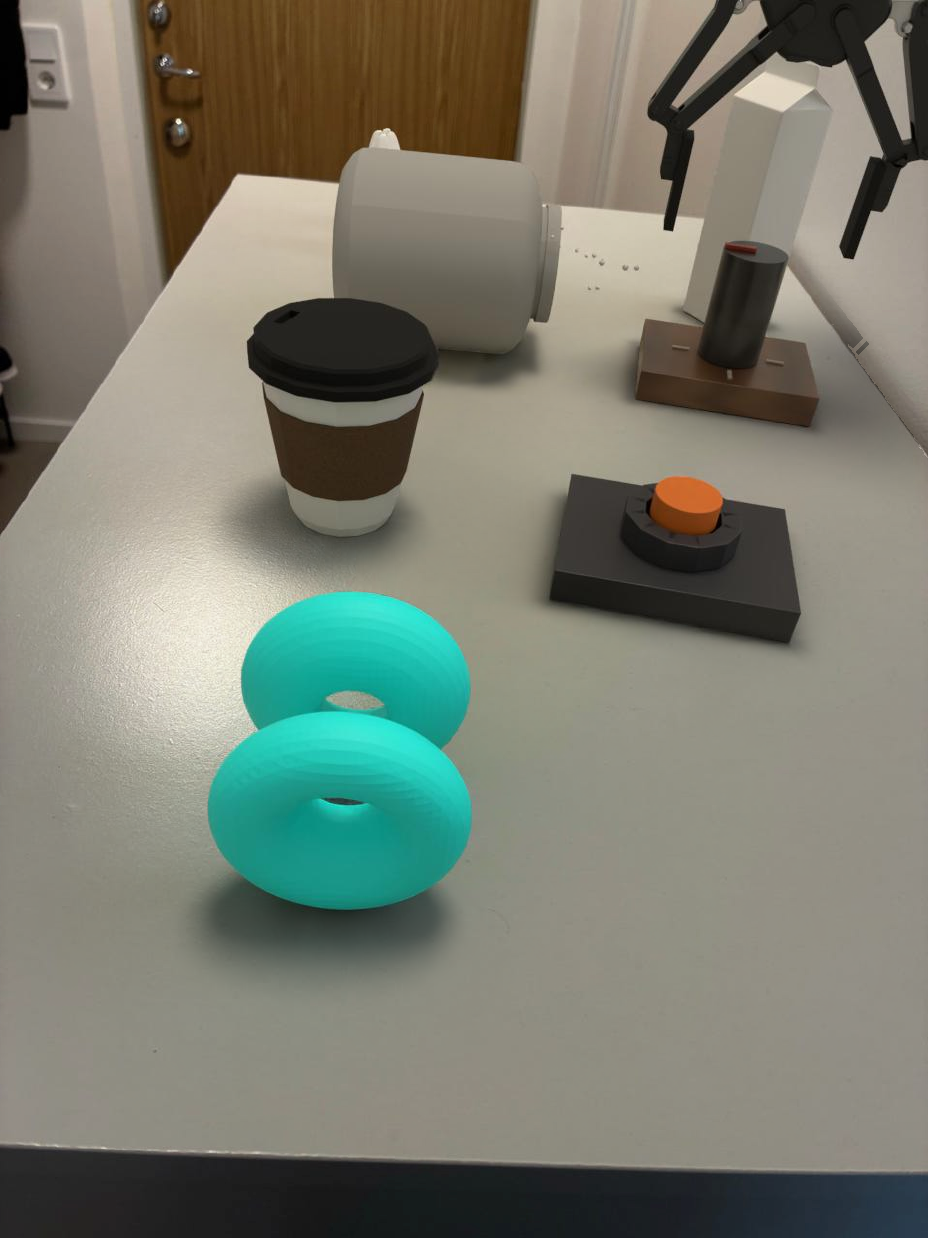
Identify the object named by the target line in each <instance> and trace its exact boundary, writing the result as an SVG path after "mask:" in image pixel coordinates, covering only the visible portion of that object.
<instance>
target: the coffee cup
mask: <svg viewBox="0 0 928 1238" xmlns="http://www.w3.org/2000/svg"><path fill="white" fill-rule="evenodd" d="M252 329H253V333H252V334H251V335H250V337H249V338H248V339H247V340H246V352H247V362H248V363H247V365H248V368H249V370H251V371H252V372H253V373H254V374H255V375H256V376H257V377H258V378H259V379H260V380H261V381H262V382H261V385H262V386H261V387H262V396H263V401H264V406H265V410H266V414H267V415H266V416H267V419H268V422H269V423H268V424H269V427H270V432H271V437H272V442H273V446H274V450H275V454H276V458H277V464H278V468H279V472H280V476H281V477H282V478H283V479H284V481H285V482H284V483H285V486H286V490H287V494H288V499H289V503H290V508H291V510H292V511H293V512H294V514H295V516H296V517H297V519H299V520H300V522H301V523H302V524H303V525H304V526H305V527H306V528H308V529H310V530H313V531H314V532H316V533H319V534H321V535H326V536H327V535H328V536H332V537H338V538H343V537H346V538H347V537H359V536H362V535H365V534H369V533H372V532H375V531H376V530H377V529H379V528H380V527H382V526H383V525H384V524H386V523H387V522H388V520H389V518H390V517H391V515H392V514H393V512H394V509H395V507H396V505H397V501H398V497H399V493H400V488H401V484H402V482H403V480H404V477H405V475H406V473H407V471H408V467H409V462H410V459H411V453H412V449H413V446H414V445H413V444H414V441H415V436H416V433H417V427H418V425H419V418H420V415H421V410H422V406H423V401H424V397H425V392H424V390H423V389H424V386H425V385H426V384H428V383H429V382H431V381H432V380H433V378H434V376H435V374H436V371H437V369H438V368H439V366H440V353H439V351H438V348H436V346H435V344H434V342H433V340H432V338H431V335H430V333H429V331H428V328H427V326H426V325H425V324H423V323H422V322H421V321H419V320H418V319H416V318H415V317H413V316H412V315H411V314H409V313H408V312H406V311H403V310H400V309H397V308H394V307H392V306H389V305H386V304H383V303H379V302H372V301H366V300H359V299H353V298H334V297H317V298H311V299H304V300H299V301H298V300H297V301H294V302H288V303H286V304H284V305H281V306H278V307H277V308H274V309H272V310H270V311H267V312H266V313H265V314H264V315H263V316H262V317H261V318H260V320H259V321H258V322H257V323H256V324H255V325H254V326H253V328H252Z"/></svg>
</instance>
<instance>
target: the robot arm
mask: <svg viewBox="0 0 928 1238" xmlns="http://www.w3.org/2000/svg"><path fill="white" fill-rule="evenodd" d="M755 1H759V5H760V8H761V11H762V14H763V17H764V20H765V24H766V25H765V26H764V27H763V28H762V29H761V30H760V31H758V32H757V34H755V35H754V37H752V38H751V39H750V40H749V41H748V42H747V44H746V45H745V46H744V47H743V48H742V49H741V50H740V51H738V52H737V53H736V54H735V55H734V56H733V57H732V58H731V59H730V60H729V61H727V62H726V63H725V64H724V65H723V66H722V67H721V68H720V69H718V71H716V72H715V73H714V74H713V75H712V76H711V77H709V79H707V80H706V81H705V82H704V83H703V84H702V85H701V86H700V87H699V88H698V89H697V90H696V91H694V92H693V93H692V94H691V95H690V96H689V97H688V98H686V100H685V101H683V102H682V103H681V104H680V105H679V106H678V107H677V106H675V105H673V103H674V101H675V100H676V99H677V97H678V96H679V94H680V93H681V92H682V90H683V88H684V87H685V86H686V85H687V83H688V81H690V79H691V77H692V76H693V74H694V73H695V72H696V70H697V69H698V67H699V66H700V64H701V63H702V62H703V60H704V59H705V58H706V56H707V55H708V54H709V52H710V50H711V49H712V47H713V46H714V45H715V43H716V42H717V41H718V39H719V38H720V36H721V35H722V33H723V32H724V31H725V29H726V28H727V26H728V24H729V23H730V21H731V19H732V17H733V15H741V14H743V13H744V12H746V10H747V8H748V6H749V5H750V4H751V3H753V2H755ZM888 19H890V20H893V23H894V24H893V25H894V32H895V33H896V34H897V35H898V37H901V38H902V56H903V68H904V78H905V88H906V89H905V90H906V100H907V109H908V120H909V130H910V131H909V132H910V138H906V139H902V136H901V135H900V132H899V129H898V127H897V124H896V121H895V118H894V117H893V113H892V111H891V107H890V106H889V103H888V100H887V98H886V96H885V92H884V90H883V88H882V85H881V82H880V80H879V78H878V74H877V73H876V70H875V69H876V68H875V66H874V63H873V60H872V57H871V55H870V52H869V50H868V47H867V44H866V41H868V39H870V38H871V37H872V36H873V35H874V34H875V33H876V32H877V31H878V30H879V29H880V28H881V27H882V26H884V24H885V23H886V22H887V20H888ZM774 53H778V54H779V55H780V56H781V57H782V58H784V59H785V60H786V61H788V62H795V63H799V62H810V63H812V64H815V65H819V66H820V67H824V68H825V67H826V68H833V67H834V66H837V65H840V64H842V63H843V62H846V64H847V68H848V69H849V72H850V74H851V76H852V78H853V81H854V83H855V86H856V89H857V91H858V94H859V97H860V99H861V101H862V104H863V106H864V109H865V111H866V114H867V116H868V118H869V119H868V120H869V122H870V124H871V126H872V129H873V131H874V134H875V136H876V139H877V141H878V144H879V146H880V148H881V149H880V150H881V152H882V157H879V156H871V155H870V156H869V158H868V161H867V163H866V167H865V170H864V172H863V176H862V178H861V181H860V184H859V187H858V190H857V192H856V196H855V199H854V201H853V204H852V207H851V210H850V213H849V217H848V219H847V221H846V225H845V228H844V231H843V234H842V237H841V240H840V243H839V246H838V249H839V250H840V253H841V255H842V258H843V259H846V260H853V261H854V260H855V257H856V254H857V251H858V249H859V246H860V243H861V241H862V238H863V235H864V232H865V229H866V226H867V224H868V220H869V218H870V216H871V213H872V212H877V213H883V212H884V211H885V209H886V208H887V207H888V205H889V203H890V200H891V197H892V194H893V192H894V189H895V186H896V185H897V184H896V183H897V180H898V178H899V176H900V173H901V171H902V169H904V168H905V167H906V166H907V165H908V164H909V163H912V162H917V161H924V162H925V161H928V0H715V2H714V6H713V7H712V9H711V10H710V12H709V13H708V14H707V16H706V18H704V21H703V22H702V23H701V25H700V26H699V28H698V29H697V31H695V33H694V35H693V36H692V38H691V39H690V40H689V42H688V44H687V45H686V46H685V48H684V50H683V51H682V53H681V54H680V55H679V57H678V58H677V60H676V61H675V62H674V63H673V65H672V67H671V68H670V70H669V71H668V73H667V74H666V76H665V77H664V79H663V80H662V81H661V83H660V84H659V86H658V87H657V88H656V90H655V91H654V92H653V95H652V96H650V99H649V101H648V103H647V109H646V110H647V111H646V115H647V117H648V119H649V120H650V121H652V122H656V123H658V124H659V125H660V126H663V127H664V128H665V130H666V137H665V143H664V147H663V151H662V156H661V161H660V164H659V165H660V166H659V177H660V180H663V181H671V186H670V189H669V195H668V198H667V203H666V208H665V213H664V217H663V228H662V231H665V232H672V233H673V232H674V229H675V225H676V222H677V216H678V212H679V208H680V202H681V200H682V196H683V190H684V187H685V181H686V178H687V173H688V168H689V165H690V160H691V156H692V150H693V147H694V142H695V130H694V129H689V128H691V127H692V126H693V125H694V124H695V123H696V122H697V121H698V120H699V119H701V118H702V117H703V116H704V115H705V114H706V113H707V112H708V111H710V110H711V109H712V108H713V107H714V106H715V105H716V104H718V103H719V101H721V100H722V99H724V97H725V96H726V95H727V94H729V93H730V92H731V91H732V90H733V89H734V88H735V87H737V86H738V85H739V84H740V83H741V82H742V81H743V80H745V78H747V77H748V76H749V75H750V74H751V73H752V72H754V71H755V70H756V69H757V68H759V66H761V65H763V64H764V63H765V62H767V60H768V59H769V58H770V57H771V56H772V55H773V54H774Z"/></svg>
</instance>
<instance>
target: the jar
mask: <svg viewBox="0 0 928 1238" xmlns="http://www.w3.org/2000/svg"><path fill="white" fill-rule="evenodd" d="M562 223H563V211H562V205H559V204H548V203H547V204H546V206H543V200H542V193H541V186H540V183H539V181H538V179H537V176H536V175H535V173H534V171H533V170H532V169H531V168H530V167H529V166H528V165H527V164H525V163H522V162H518V161H514V160H505V159H494V158H485V157H474V156H465V155H454V154H446V153H445V154H444V153H435V152H425V151H424V152H423V151H417V150H416V151H415V150H406V149H405V150H404V149H400V150H395V149H385V148H369V147H361V148H360V149H358V150H357V151H355V152H353V153H352V155H350V157H349V159H348V161H347V162H346V163H345V164H344V166H343V168H342V170H341V174H340V177H339V184H338V188H337V194H336V201H335V208H334V217H333V227H332V246H331V248H332V249H331V272H332V273H331V274H332V275H331V278H332V290H333V291H332V292H333V298H353V299H359V300H366V301H372V302H379V303H383V304H386V305H389V306H392V307H394V308H397V309H400V310H403V311H406V312H408V313H409V314H411V315H412V316H413V317H415V318H416V319H418V320H419V321H421V322H422V323H423V324H425V325H426V326H427V328H428V331H429V333H430V335H431V338H432V340H433V342H434V344H435V346H436V349H441V350H451V351H453V350H454V351H463V352H474V353H484V354H506V353H508V352H510V351H512V350H514V349H515V348H516V347H517V346H518V345H519V343H520V342H521V341H522V339H524V336H525V334H526V331H527V329H528V327H529V323H530V320H531V319H532V320H533V322H534V323H545V324H547V323H548V322H549V320H550V317H551V313H552V308H553V303H554V297H555V292H556V291H555V290H556V284H557V277H558V269H559V261H560V251H561V250H560V249H561V242H562V241H561V240H562V231H563V230H564V229H565V227H564V226H563V225H562ZM574 252H575V253H579V248H575V249H574ZM588 257H589V254H588V253H586V254H584V258H586V259H588ZM591 258H593V259H596V258H597V254H596V253H595V252H593V253H592V254H591ZM605 263H606V262H605V260H604V259H600V260H599V262H598V264H599V266H600V267H603V266H604V265H605ZM621 269H622V270H623V271H628V270H629V269H630V265H629V264H627V263H624V264H623V265H622V267H621ZM633 270H634V271H636V272H637V271H639V270H640V266H639V265H637V264H636V265H634V267H633ZM600 289H601V286H600V285H596V286H595V290H596V291H599V290H600ZM587 290H588V291H592V286H588V287H587Z"/></svg>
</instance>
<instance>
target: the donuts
mask: <svg viewBox="0 0 928 1238" xmlns="http://www.w3.org/2000/svg"><path fill="white" fill-rule="evenodd" d="M242 661H243V662H242V666H241V670H240V671H241V672H240V689H241V696H242V700H243V703H244V704H243V705H244V706H245V709H246V711H247V714H248V716H249V718H250V720H251V722H252V723H253V725H254V727H255V728H256V729H257V731H255V732H254V733H251V734H250V735H249V736H247V737H246V738H244V739H243V740H242V741H241V742H240V743H239V744H238V745H237V746H235V748H233V749H232V750H231V751H230V752H229V753H228V754H227V756H226V757H225V758H224V760H223V761H222V763H221V764H220V766H219V768H218V769H217V770H216V772H215V775H214V777H213V779H212V782H211V785H210V788H209V793H208V798H207V820H208V824H209V825H208V826H209V830H210V833H211V835H212V838H213V840H214V842H215V845H216V846H217V848H218V850H219V852H220V854H221V855H222V856H223V858H224V859H225V861H226V862H227V863H228V864H229V865H230V866H231V868H233V869H234V870H235V871H236V872H238V873H239V874H240V875H241V876H242V877H243V878H244V879H246V880H247V881H249V882H250V883H251V884H253V885H254V886H256V887H257V888H259V889H261V890H263V891H264V892H267V893H269V894H271V895H274V896H275V897H278V898H280V899H282V900H286V901H288V902H292V903H294V904H299V905H303V906H308V907H314V908H319V909H325V910H326V909H327V910H341V911H343V910H345V911H346V910H347V911H348V910H350V911H351V910H364V909H365V910H366V909H373V908H381V907H385V906H390V905H393V904H397V903H400V902H403V901H406V900H408V899H410V898H413V897H415V896H417V895H419V894H421V893H423V892H425V891H426V890H428V889H430V888H431V887H433V886H434V885H436V884H437V883H438V882H439V881H441V880H442V879H443V878H444V877H445V876H447V875H448V873H450V871H451V870H452V869H453V868H454V867H455V865H456V864H457V862H458V861H459V860H460V859H461V857H462V855H463V853H464V851H465V849H466V847H467V844H468V841H469V838H470V835H471V831H472V823H473V808H472V802H471V798H470V794H469V790H468V787H467V785H466V782H465V781H464V778H463V777H462V775H461V773H460V772H459V770H458V768H457V767H456V766H455V764H454V763H453V762H452V760H451V759H450V758H449V757H448V756H447V754H446V753H445V752H444V751H443V750H442V749H443V748H444V747H445V746H447V745H448V743H450V741H451V740H452V739H453V737H454V736H455V735H456V733H457V732H458V731H459V730H460V727H461V725H462V724H463V722H464V720H465V717H466V715H467V712H468V708H469V704H470V700H471V677H470V671H469V667H468V663H467V660H466V659H465V656H464V654H463V652H462V650H461V648H460V646H459V644H458V643H457V641H456V640H455V638H454V637H453V636H452V635H451V633H449V631H448V630H447V629H446V628H445V627H444V626H443V625H442V624H441V623H440V622H438V621H437V620H436V619H435V618H433V617H432V616H431V615H429V614H428V613H426V612H425V611H423V610H422V609H420V608H419V607H417V606H414V605H412V604H410V603H408V602H405V601H403V600H401V599H398V598H395V597H391V596H387V595H384V594H379V593H373V592H366V591H351V590H350V591H335V592H328V593H322V594H318V595H314V596H311V597H308V598H305V599H302V600H299V601H297V602H295V603H292V604H290V605H288V606H287V607H285V608H284V609H282V610H281V611H278V612H277V613H276V614H275V615H273V616H272V617H271V618H269V619H268V620H267V621H266V622H265V623H264V624H263V625H262V627H261V628H260V629H259V630H258V631H257V632H256V634H255V635H254V637H253V638H252V640H251V642H250V643H249V645H248V647H247V649H246V652H245V655H244V658H243V660H242ZM342 692H343V693H344V692H358V693H363V694H367V695H369V696H372V697H374V698H376V699H377V700H379V701H380V702H381V703H382V704H383V705H381V706H378V707H374V708H367V709H360V708H359V709H357V708H349V707H345V706H341V705H338V704H336V703H333V702H332V701H330V700H328V699H326V698H328V697H329V696H332V695H334V694H338V693H342ZM324 799H347V800H351V801H356V802H357V801H358V802H362V803H359V804H350V805H349V804H347V805H346V804H337V803H332V802H329V801H327V800H324Z"/></svg>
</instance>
